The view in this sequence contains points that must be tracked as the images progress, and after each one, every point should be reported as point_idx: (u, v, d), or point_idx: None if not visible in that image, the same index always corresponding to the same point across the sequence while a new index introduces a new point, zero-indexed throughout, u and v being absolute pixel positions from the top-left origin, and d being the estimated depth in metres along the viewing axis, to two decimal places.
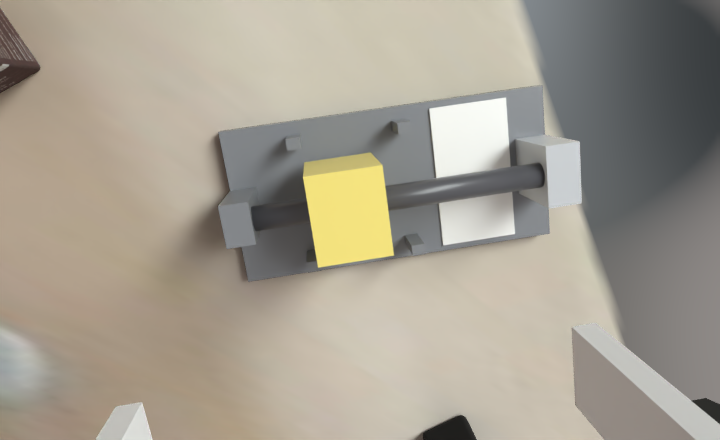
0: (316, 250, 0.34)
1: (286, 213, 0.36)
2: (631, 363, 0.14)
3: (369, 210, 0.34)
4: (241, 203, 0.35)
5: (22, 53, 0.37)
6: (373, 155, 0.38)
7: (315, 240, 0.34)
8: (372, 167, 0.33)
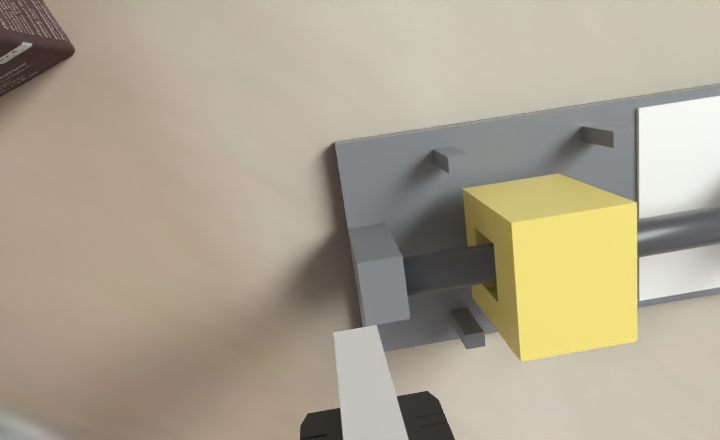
0: (521, 336, 0.22)
1: (455, 271, 0.24)
2: (375, 360, 0.16)
3: (609, 273, 0.21)
4: (392, 258, 0.23)
5: (49, 28, 0.24)
6: None
7: (520, 320, 0.21)
8: (620, 206, 0.21)
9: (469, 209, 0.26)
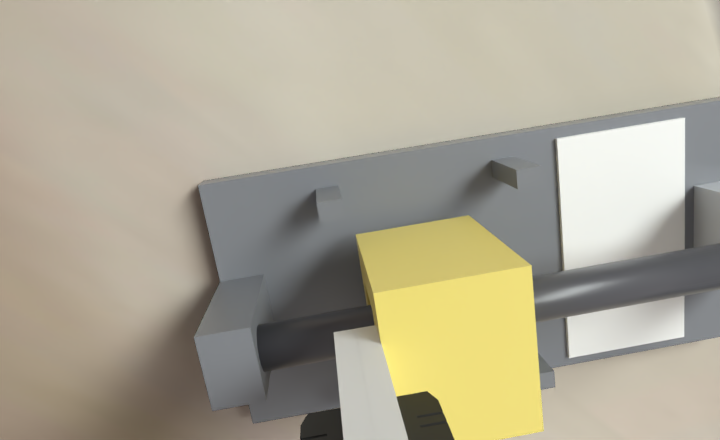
0: None
1: (321, 342, 0.20)
2: (375, 361, 0.16)
3: (502, 352, 0.17)
4: (238, 330, 0.19)
5: None
6: None
7: None
8: (511, 270, 0.16)
9: (360, 260, 0.22)
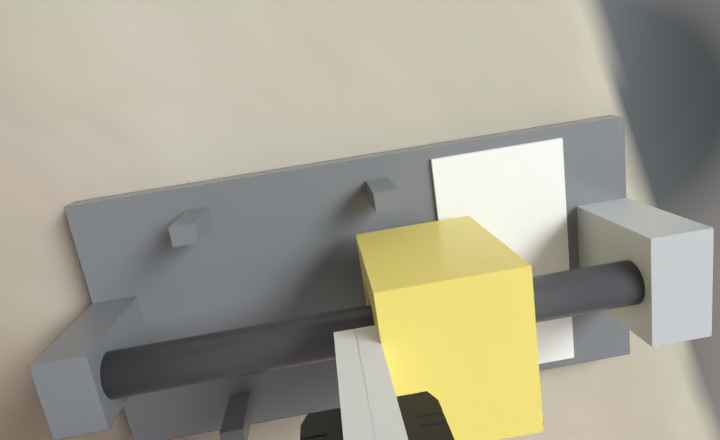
0: None
1: (166, 369, 0.19)
2: (375, 361, 0.16)
3: (502, 352, 0.17)
4: (74, 359, 0.19)
5: None
6: (482, 226, 0.21)
7: None
8: (511, 270, 0.16)
9: (360, 260, 0.22)
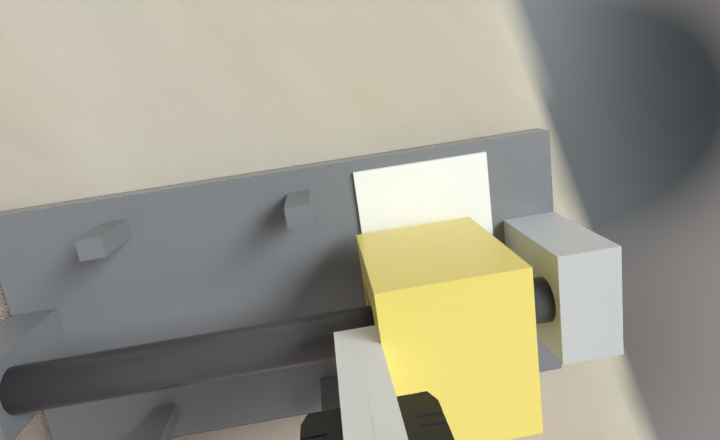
0: None
1: (67, 386, 0.19)
2: (375, 361, 0.16)
3: (502, 353, 0.17)
4: None
5: None
6: (482, 227, 0.21)
7: None
8: (512, 272, 0.16)
9: (360, 261, 0.22)
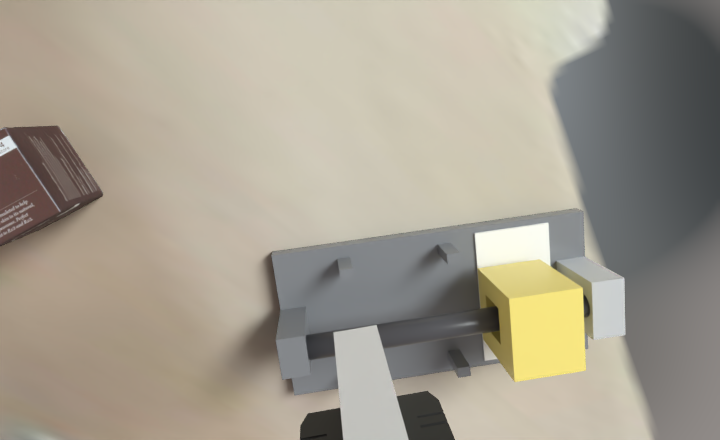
0: (514, 366, 0.36)
1: None
2: (375, 361, 0.16)
3: (567, 329, 0.35)
4: (298, 337, 0.37)
5: (88, 186, 0.38)
6: (550, 266, 0.40)
7: (514, 356, 0.36)
8: (573, 290, 0.35)
9: (482, 282, 0.40)
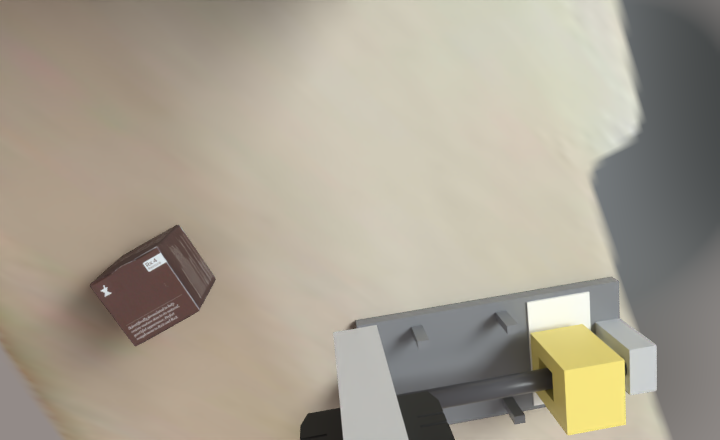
0: (568, 423, 0.43)
1: None
2: (375, 360, 0.16)
3: (611, 392, 0.43)
4: None
5: (207, 276, 0.46)
6: (592, 332, 0.47)
7: (567, 415, 0.43)
8: (616, 362, 0.43)
9: (535, 346, 0.48)
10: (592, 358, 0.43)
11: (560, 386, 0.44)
